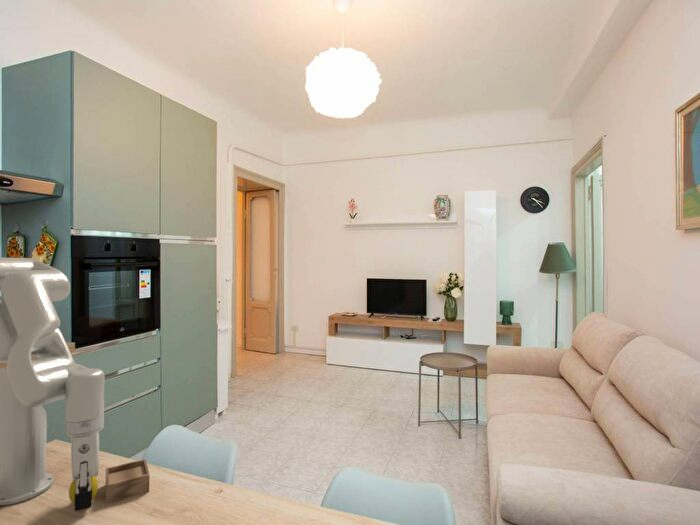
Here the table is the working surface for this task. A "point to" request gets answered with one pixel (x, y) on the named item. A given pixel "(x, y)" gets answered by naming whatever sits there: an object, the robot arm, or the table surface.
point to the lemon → (73, 485)
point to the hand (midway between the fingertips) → (83, 500)
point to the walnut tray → (126, 480)
